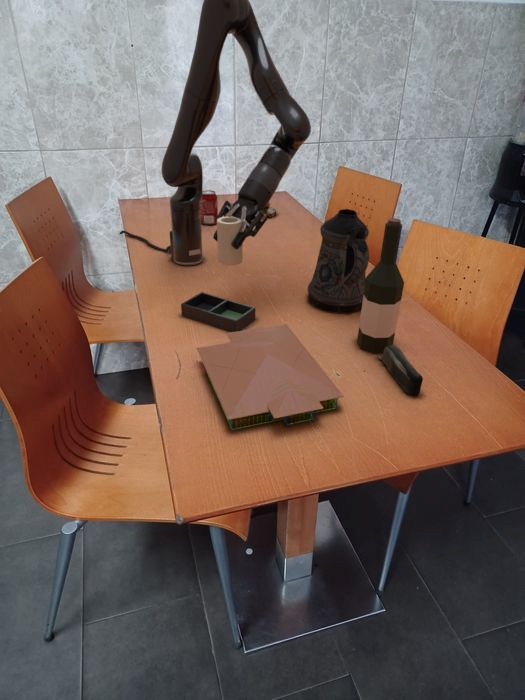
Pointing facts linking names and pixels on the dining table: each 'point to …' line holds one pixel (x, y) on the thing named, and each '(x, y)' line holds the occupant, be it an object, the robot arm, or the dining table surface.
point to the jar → (228, 240)
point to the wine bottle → (382, 295)
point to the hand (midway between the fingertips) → (225, 243)
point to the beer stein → (341, 264)
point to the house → (266, 375)
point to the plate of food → (269, 211)
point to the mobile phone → (402, 370)
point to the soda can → (209, 207)
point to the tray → (218, 312)
